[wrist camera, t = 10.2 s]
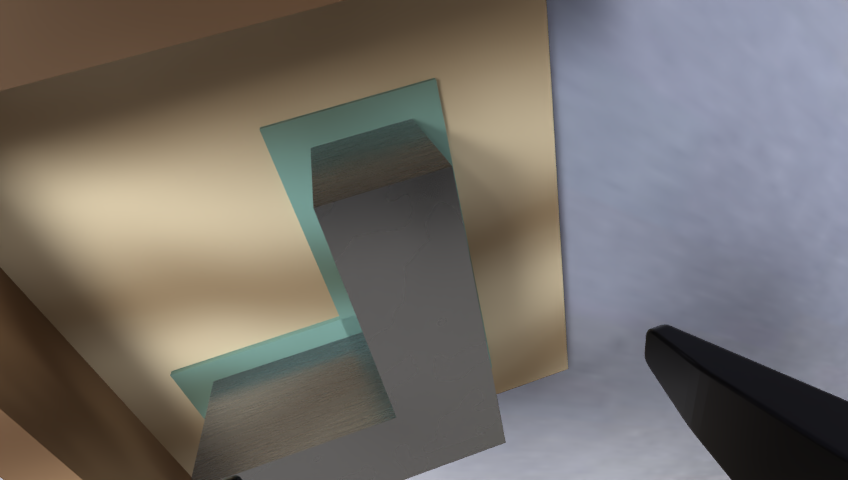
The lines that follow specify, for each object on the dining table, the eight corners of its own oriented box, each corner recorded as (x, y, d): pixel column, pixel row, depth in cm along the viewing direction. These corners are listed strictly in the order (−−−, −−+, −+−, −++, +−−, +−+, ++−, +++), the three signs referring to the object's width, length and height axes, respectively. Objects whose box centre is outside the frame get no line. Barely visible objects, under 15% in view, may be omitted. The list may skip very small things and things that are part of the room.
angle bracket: (467, 356, 18) (505, 442, 15) (249, 431, 17) (236, 541, 14) (412, 118, 13) (452, 166, 9) (92, 210, 12) (9, 299, 8)
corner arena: (-246, 65, 10) (-502, 101, 6) (528, -126, 11) (611, -167, 8) (177, 495, 19) (153, 591, 16) (561, 359, 21) (606, 423, 18)
